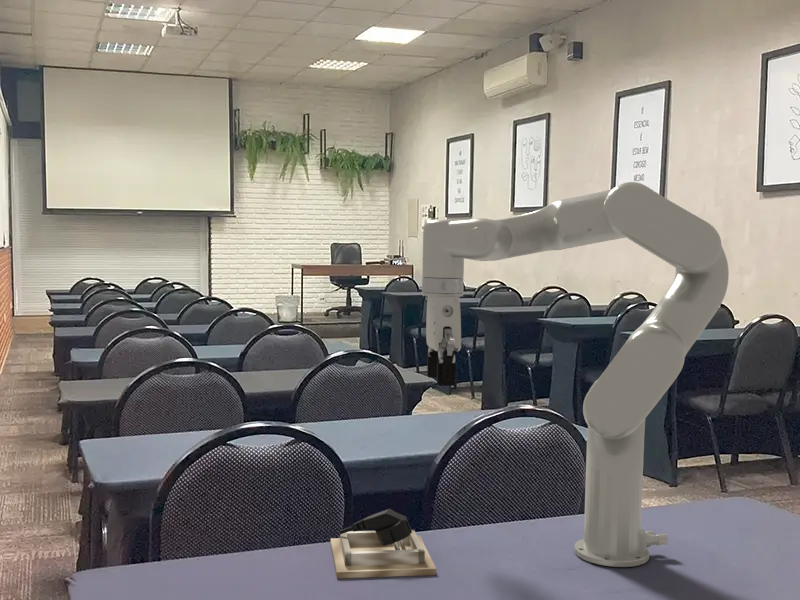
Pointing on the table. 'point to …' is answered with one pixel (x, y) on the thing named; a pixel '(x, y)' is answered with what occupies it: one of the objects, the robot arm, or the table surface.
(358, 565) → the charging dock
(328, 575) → the table surface
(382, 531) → the power plug
